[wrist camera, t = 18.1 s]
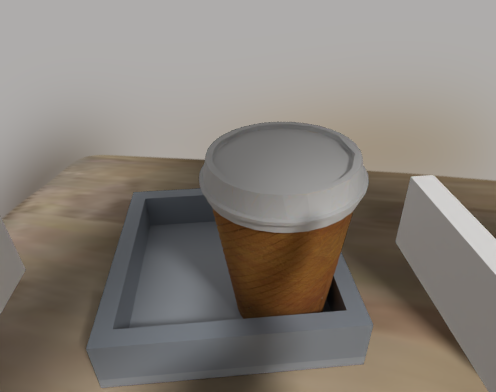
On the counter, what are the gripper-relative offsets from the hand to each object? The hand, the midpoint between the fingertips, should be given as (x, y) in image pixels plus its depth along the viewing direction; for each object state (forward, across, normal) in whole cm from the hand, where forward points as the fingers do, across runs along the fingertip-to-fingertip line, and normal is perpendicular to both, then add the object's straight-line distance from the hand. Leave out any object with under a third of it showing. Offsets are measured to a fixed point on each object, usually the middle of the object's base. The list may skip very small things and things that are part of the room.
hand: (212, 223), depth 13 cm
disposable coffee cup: (+9, +4, -14) cm, 17 cm away
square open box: (+12, 0, -15) cm, 19 cm away
